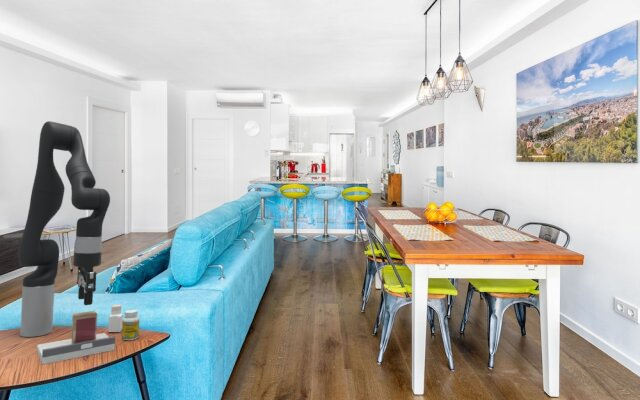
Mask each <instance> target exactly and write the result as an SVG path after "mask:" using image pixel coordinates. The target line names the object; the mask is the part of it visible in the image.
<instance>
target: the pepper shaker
mask: <svg viewBox="0 0 640 400" xmlns="http://www.w3.org/2000/svg"><path fill="white" fill-rule="evenodd" d="M121 311H122V304H113V305H111V313H110V315H108V327H107V329H108V330H107V331H108V333H109V332H119V333H120V332H122V321H123V318H124V317H123V315H124V314H123V313H122V312H121Z"/></svg>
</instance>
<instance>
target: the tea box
mask: <svg viewBox="0 0 640 400" xmlns="http://www.w3.org/2000/svg"><path fill="white" fill-rule="evenodd" d="M97 324H98V313H97V312H96V310H92V311H91V310H90V311H83V312H75V313H72V321H71V338H70V339H71V344H75V343H81V342H86V341H92V340H96V334H97Z"/></svg>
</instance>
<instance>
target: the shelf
mask: <svg viewBox="0 0 640 400" xmlns="http://www.w3.org/2000/svg"><path fill="white" fill-rule="evenodd" d="M71 339H72V338H68V339H63V340H58V341H52V342H45V343H40V344H36V352H37V355H38V358H39V360H40V362H41V365H47V364H52V363H57V362H62V361H67V360H71V359H72V360H73V359H78V358H82V357H85V356H87V357H88V356H92V355H96V354H100V353H101V354H102V353H105V352H110V351H115V350H116V349H115V348H116V337H115V336H108V335H107V334H106V332H102V333H96V340H92V341H86V342H81V343H75V344H71Z"/></svg>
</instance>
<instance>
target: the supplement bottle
mask: <svg viewBox="0 0 640 400" xmlns="http://www.w3.org/2000/svg"><path fill="white" fill-rule="evenodd" d="M124 316H125V317H123V321H122V330H121V340H122V339H123V341H124V340H132V341H135V340H137V339H136V338H138V337H140V316H138V310H137V309H127V310H125V312H124ZM134 339H135V340H134ZM138 339H139V338H138Z"/></svg>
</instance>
